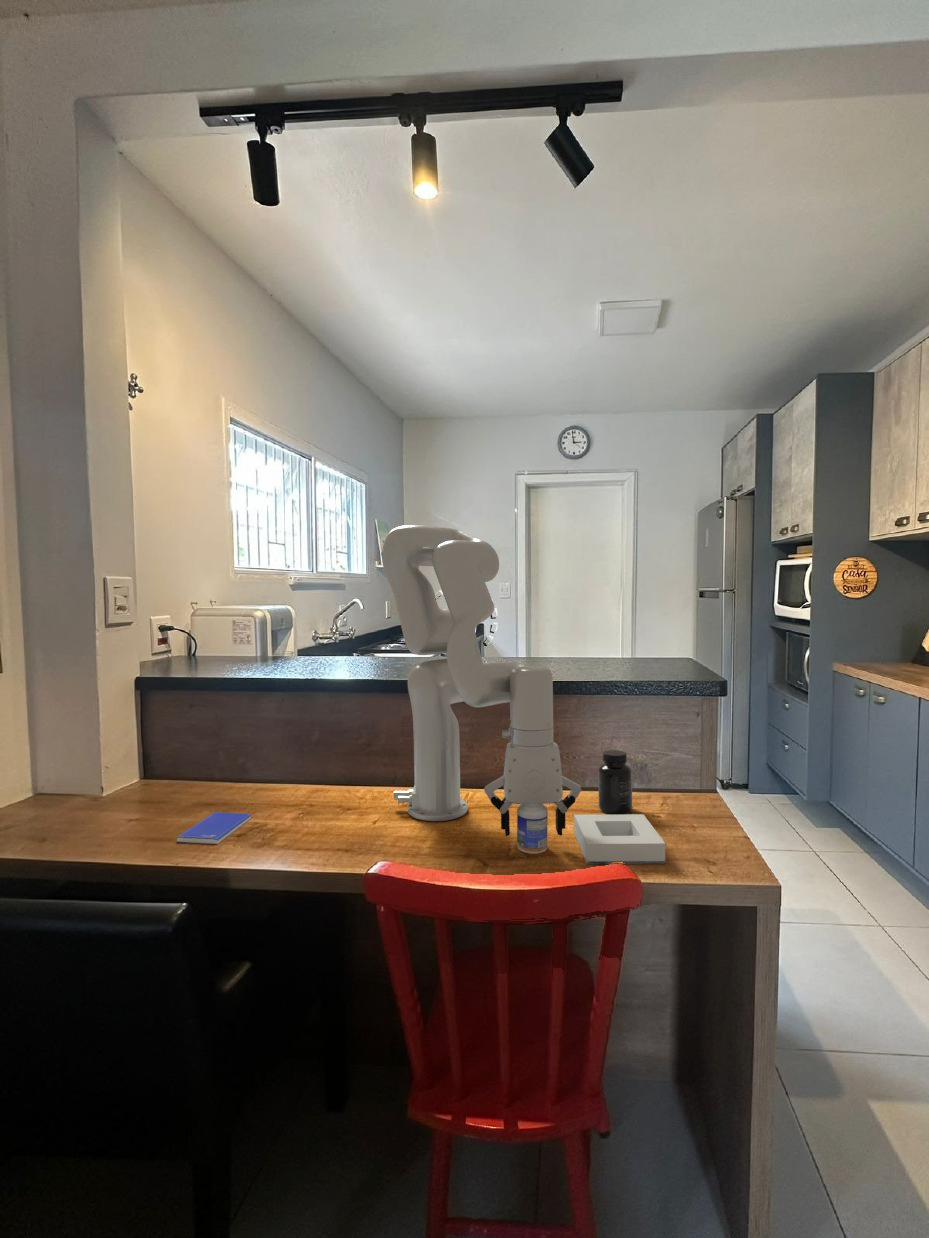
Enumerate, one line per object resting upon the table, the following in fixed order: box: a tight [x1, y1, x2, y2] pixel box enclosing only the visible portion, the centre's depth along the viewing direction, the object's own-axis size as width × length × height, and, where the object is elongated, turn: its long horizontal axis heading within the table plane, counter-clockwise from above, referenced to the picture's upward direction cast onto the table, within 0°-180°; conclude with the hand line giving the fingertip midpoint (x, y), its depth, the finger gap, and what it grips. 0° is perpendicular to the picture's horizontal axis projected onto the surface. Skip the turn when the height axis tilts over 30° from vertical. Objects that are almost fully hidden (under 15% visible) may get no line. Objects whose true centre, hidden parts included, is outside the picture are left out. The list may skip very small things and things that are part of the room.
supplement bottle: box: [597, 749, 633, 815], centre depth 126 cm, size 7×7×12 cm
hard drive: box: [176, 811, 252, 845], centre depth 118 cm, size 2×8×12 cm
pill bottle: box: [516, 804, 548, 855], centre depth 107 cm, size 5×5×10 cm
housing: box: [573, 813, 666, 865], centre depth 107 cm, size 13×13×4 cm
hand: (533, 832), depth 107 cm, fingers open, 8 cm apart
